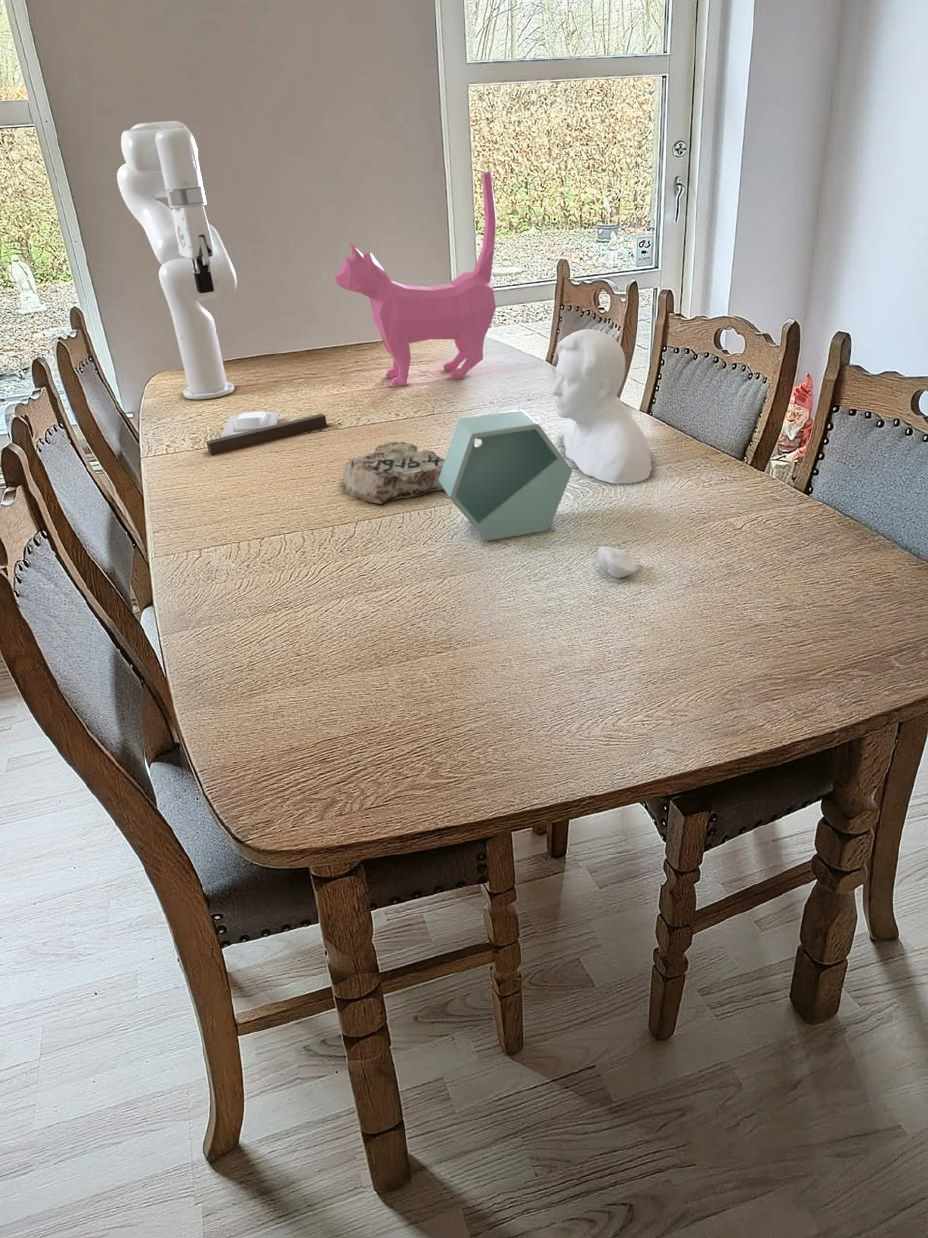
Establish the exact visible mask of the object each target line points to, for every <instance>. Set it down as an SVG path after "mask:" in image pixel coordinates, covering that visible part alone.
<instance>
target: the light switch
mask: <svg viewBox="0 0 928 1238" xmlns="http://www.w3.org/2000/svg"><path fill="white" fill-rule="evenodd" d="M279 418H280V414H279V412H277V411H275V412H274V411H273V412H267V411H262V410H261V411H250V412H242V413H240V414H237V415H234V414H233V415H230V416H229V418H228V419H227V422H226V424H225V426H224V428H223V430H222V432H221V434H220V438H222V437H226V436H230V435H234V434H239V433H243V432H247V431H251V430H255V429H260V428H264V427H268V426H272V425H276V424H278V421H279Z"/></svg>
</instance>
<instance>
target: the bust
mask: <svg viewBox="0 0 928 1238" xmlns="http://www.w3.org/2000/svg"><path fill="white" fill-rule="evenodd" d="M556 350H557V351H556V353H557V356H558V357H557V358H558V361H557V364H556V366H555V371H554V372H555V375H556V383H555V385H554V386H553V388H552V391H551V394H553V395H554V396H555V400H554V401H555V405H556V413H557V414H556V415H557V416H558V417H560V418H563V419H568V421H567V422H566V424H565V426H564V431H563V447H564V448H565V453H564V454H565V457H566V458H567V459H569V460H571V461H572V462H574V464H575V465H576V467H578V469H579V470H580V471H581V472H582V473H583V474H585V475H586V476H589V477H593V478H595V479H596V480H599V481H601V482H607V483H609V484H613V485H614V484H616V485H617V484H619V485H620V484H621V485H622V484H634V483H639V482H643V481H645V480H646V479H648V478H649V477H650V475H651V471H652V470H653V469H652V468H653V467H652V459H651V453H650V448H649V444H648V441H647V438H646V435H645V434H644V431H643V430H642V428H641V427H640V425H639V424H638V422H637V421H636V420H635V419H634V417H633V416H632V414H631V413H630V411H628V410H627V409H626V407H625V406H624V404H623V402H622V400H621V398H620V397H618V395H619V391H620V390H621V387H622V385H623V382H624V379H625V375H626V356H625V353H624V350H623V348H622V346H621V344H620V343H619V342H618V341H617V340H616V339H615V338H614V337H613V336H611V335H610V334H608V333H606V332H603V331H601V330H597V329H591V328H585V329H580V330H577V331H574V332H572V333H571V334H569V335H567V336H565V337H563V339H562V340H560V341H559V342H558V344H557V349H556Z"/></svg>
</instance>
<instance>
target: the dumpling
mask: <svg viewBox="0 0 928 1238" xmlns="http://www.w3.org/2000/svg"><path fill="white" fill-rule="evenodd" d="M597 558H598V562H599V564H600V566H601V567H602V569H603V570H604V571H605V572H606V573H608V574H609V575H610V576H611V577H613V578H615V579H621V578H624V577H628V576H630V575H633V574H635V573H636V572H637V571H638V566H637V565H636V564H635V563H634V562H633V561H632V559H631V558H630V554H628V552H627V551H625V550H621V549H619V548H614V547H612V546H603V545H602V546H600V547H598V550H597ZM639 558H640V559H642V557H639Z"/></svg>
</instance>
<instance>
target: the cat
mask: <svg viewBox="0 0 928 1238" xmlns="http://www.w3.org/2000/svg"><path fill="white" fill-rule="evenodd" d="M481 181H482V196H483V197H482V198H483V213H484V227H483V237H482V247H481V250H480V252H479V256H478V259H477V261H476V264H475V266H474V268H473V270H472V271H465V272H463V273H461V274H459V276H457V277H456V278H454V279H453V280H451V281H450V282H448V283H442V284H437V285H430V286H423V285H411V284H402V283H399V282H396V281H395V280H391V278H390V277H389V276H388V274H387V272H386V271H385V270H384V268H383V267H382V266H381V264H380V263H379V261H378V260H377V259H376V258H375V256H374V255H373V253H372V252H369V251H366V252H361V251H360V250H359V249H358V248H356V246H355V245H353V243H352V242H350V250H351V255H348V256H345V257H344V258H343V261H342V263H341V267H340V269H339V270H338V272H337V273H336V274H335V275H334V279H335V282H336V284H337V285H338V286H339V287H340V288H342V289H344V290H347V291H351V292H354V293H359V294H362V295H364V296H365V297H367V298H368V300H369V304H370V309H371V314H372V319H373V322H374V324H375V326H376V328H377V330H378V331H379V334H380V336H381V339H382V342H383V345H384V347H385V350H386V352H388V354H389V355H390V356H391V358H392V359H393V363H392V364H393V365H392V368H389V369H387V371H386V373H385V378H386V379H391V382H390V387H395V386H396V387H398V386H399V387H400V386H407V385H408V384H407V383H408V377H409V372H410V371H409V370H410V365H411V359H412V356H411V349H410V344H413V343H419V342H425V341H430V340H453V341H454V344H455V347H456V349H457V351H458V353H457V354H456V356H455V357H454V358H453V360H450V361H447V362H445V363H444V364H442V368H443V371H444V373H445V372H446V373H447V372H450V379H451V380H452V381H453V380H463V379H464V378H465V377H466V375H467V374H468V373H469V371H470V370H472V369H473V368H474V367H476V365H478V364H479V363H480V362H482V361H483V360H484V350H483V348H484V344H485V337H486V335H487V333H488V331H489V329H490V326H491V324H492V321H493V318H494V316H495V312H496V309H497V307H496V306H497V305H496V299H495V294H494V293H495V292H494V287H493V286H492V283H491V278H492V269H493V261H494V253H495V241H496V229H497V212H496V211H497V210H496V204H495V196H494V188H493V187H494V186H493V179H492V171H491V170H487V171H485V172H482V174H481ZM461 363H463V364H462V366H461V367H460V368H458V367H459V366H460V364H461Z"/></svg>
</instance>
